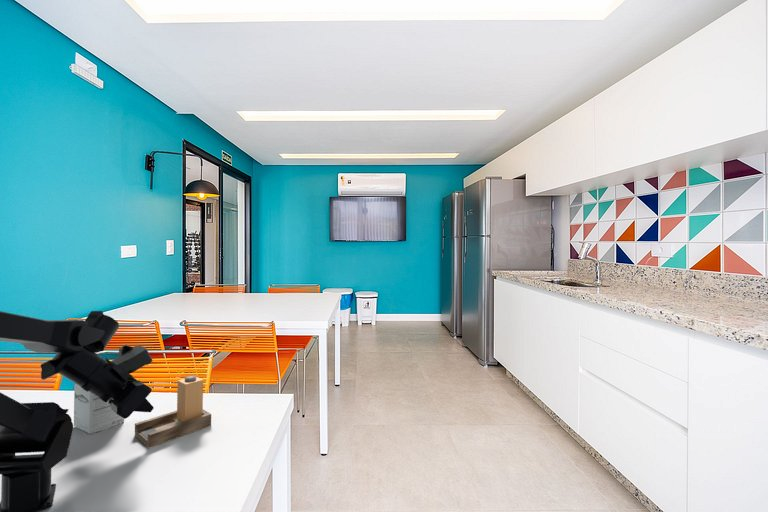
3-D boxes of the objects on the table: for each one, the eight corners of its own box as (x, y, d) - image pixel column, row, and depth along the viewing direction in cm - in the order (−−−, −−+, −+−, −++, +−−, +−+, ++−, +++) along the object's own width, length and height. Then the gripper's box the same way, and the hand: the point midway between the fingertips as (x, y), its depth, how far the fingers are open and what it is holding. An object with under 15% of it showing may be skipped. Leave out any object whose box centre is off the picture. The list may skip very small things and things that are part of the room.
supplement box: (72, 427, 84) (73, 372, 83) (109, 414, 90) (109, 363, 90) (88, 435, 80) (89, 378, 80) (125, 421, 87) (126, 368, 87)
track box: (149, 448, 75) (149, 435, 75) (134, 435, 80) (134, 423, 80) (211, 425, 86) (211, 414, 86) (194, 415, 91) (194, 404, 91)
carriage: (184, 423, 83) (185, 381, 83) (176, 418, 85) (177, 377, 85) (202, 417, 86) (203, 377, 86) (194, 412, 89) (195, 373, 89)
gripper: (140, 343, 69) (198, 386, 77) (110, 329, 81) (164, 368, 89) (86, 397, 63) (156, 437, 71) (62, 373, 74) (125, 410, 83)
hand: (151, 409), depth 79 cm, fingers closed
